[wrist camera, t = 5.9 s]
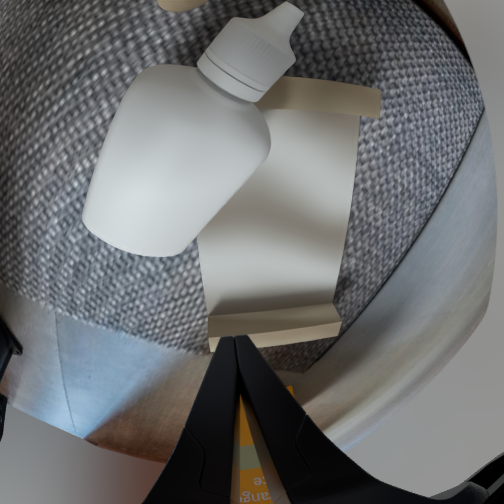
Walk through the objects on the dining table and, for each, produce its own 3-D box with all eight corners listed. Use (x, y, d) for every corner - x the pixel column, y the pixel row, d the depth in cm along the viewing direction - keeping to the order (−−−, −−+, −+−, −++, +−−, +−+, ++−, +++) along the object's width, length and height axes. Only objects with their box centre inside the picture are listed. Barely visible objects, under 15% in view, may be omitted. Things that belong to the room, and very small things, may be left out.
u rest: (326, 312, 20) (337, 335, 18) (210, 325, 20) (211, 351, 17) (356, 89, 12) (381, 89, 10) (186, 83, 11) (180, 78, 9)
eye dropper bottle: (122, 175, 14) (248, -16, 6) (193, 237, 15) (362, 69, 8) (68, 213, 11) (193, -51, 3) (151, 291, 12) (376, 65, 4)
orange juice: (209, 399, 26) (229, 573, 9) (292, 384, 26) (338, 557, 9) (226, 424, 30) (246, 561, 13) (294, 411, 30) (329, 547, 13)
